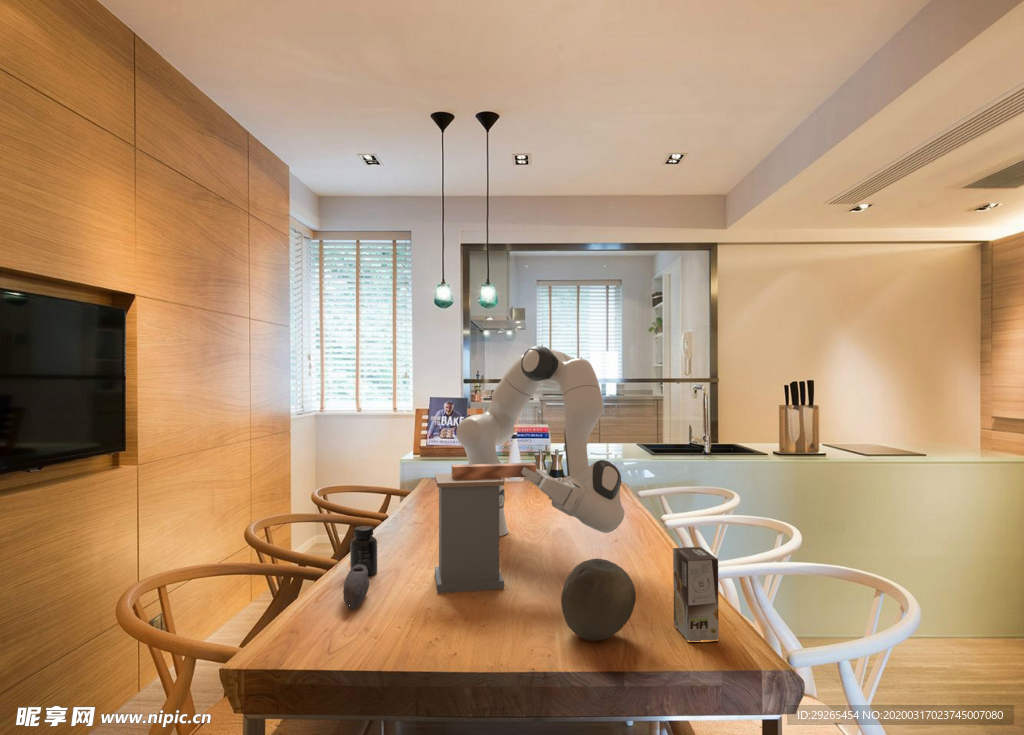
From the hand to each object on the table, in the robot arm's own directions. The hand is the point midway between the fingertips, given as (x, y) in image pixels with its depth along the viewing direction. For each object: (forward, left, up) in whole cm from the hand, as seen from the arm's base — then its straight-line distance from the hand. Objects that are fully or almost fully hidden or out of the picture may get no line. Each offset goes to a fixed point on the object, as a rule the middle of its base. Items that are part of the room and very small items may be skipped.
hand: (520, 468), depth 159 cm
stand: (-9, -9, -28) cm, 31 cm away
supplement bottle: (-35, -20, -28) cm, 50 cm away
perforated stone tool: (-21, -35, -28) cm, 50 cm away
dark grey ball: (+33, -20, -28) cm, 48 cm away
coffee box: (+48, -7, -28) cm, 56 cm away
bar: (-5, -5, -2) cm, 7 cm away
